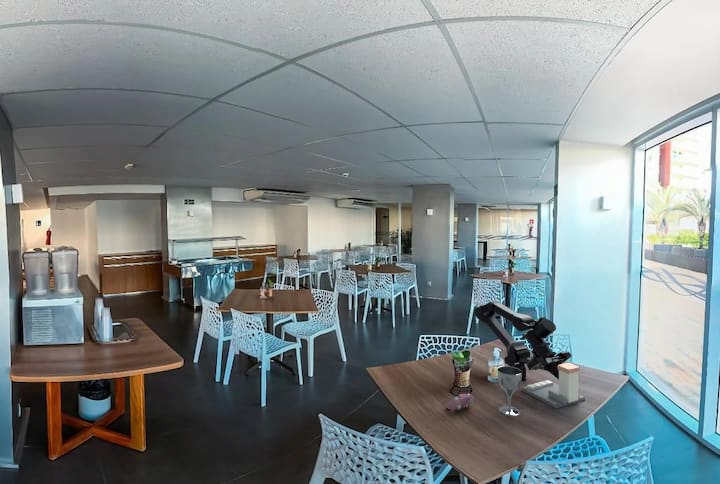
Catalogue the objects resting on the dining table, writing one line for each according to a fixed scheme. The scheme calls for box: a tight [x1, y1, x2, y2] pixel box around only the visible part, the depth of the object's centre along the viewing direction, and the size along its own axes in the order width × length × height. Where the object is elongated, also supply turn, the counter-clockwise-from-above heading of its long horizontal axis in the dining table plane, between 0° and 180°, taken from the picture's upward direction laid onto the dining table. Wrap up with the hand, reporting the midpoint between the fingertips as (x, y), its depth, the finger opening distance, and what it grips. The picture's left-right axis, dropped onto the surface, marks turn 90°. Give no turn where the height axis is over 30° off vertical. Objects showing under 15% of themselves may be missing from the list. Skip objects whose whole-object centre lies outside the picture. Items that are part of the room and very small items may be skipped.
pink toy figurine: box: [445, 392, 475, 411], centre depth 132 cm, size 10×5×7 cm, turn 118°
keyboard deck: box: [520, 379, 586, 409], centre depth 140 cm, size 16×15×3 cm
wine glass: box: [496, 365, 522, 417], centre depth 129 cm, size 8×8×15 cm
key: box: [558, 362, 580, 403], centre depth 133 cm, size 5×6×12 cm
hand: (562, 381), depth 136 cm, fingers closed, pressing on key
